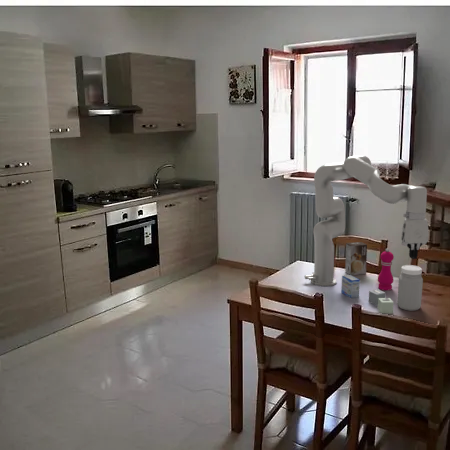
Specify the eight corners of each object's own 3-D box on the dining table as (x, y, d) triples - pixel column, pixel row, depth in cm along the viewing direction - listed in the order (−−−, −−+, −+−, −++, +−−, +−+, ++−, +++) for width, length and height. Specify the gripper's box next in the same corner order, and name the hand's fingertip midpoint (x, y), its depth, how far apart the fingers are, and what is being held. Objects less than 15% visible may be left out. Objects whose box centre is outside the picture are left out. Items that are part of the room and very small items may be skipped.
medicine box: (340, 292, 236) (341, 275, 234) (348, 291, 237) (349, 274, 235) (351, 298, 228) (352, 280, 227) (359, 297, 230) (360, 279, 228)
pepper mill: (393, 291, 237) (396, 250, 232) (378, 290, 238) (380, 250, 234) (392, 286, 243) (394, 246, 239) (376, 285, 245) (378, 246, 240)
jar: (425, 309, 214) (428, 269, 210) (406, 312, 212) (409, 272, 208) (411, 301, 223) (414, 263, 219) (392, 304, 221) (394, 265, 217)
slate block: (376, 305, 220) (376, 294, 219) (368, 301, 225) (369, 290, 224) (385, 303, 222) (385, 292, 221) (377, 299, 227) (378, 289, 226)
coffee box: (360, 270, 268) (362, 241, 265) (366, 274, 262) (367, 244, 259) (344, 271, 266) (346, 242, 263) (350, 275, 260) (351, 245, 257)
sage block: (381, 313, 211) (381, 302, 210) (377, 308, 216) (378, 297, 215) (392, 313, 211) (393, 301, 210) (389, 308, 216) (389, 297, 215)
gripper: (403, 218, 204) (401, 261, 208) (437, 216, 206) (434, 259, 210) (394, 215, 211) (392, 257, 215) (427, 213, 213) (424, 254, 217)
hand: (413, 258), depth 212 cm, fingers closed
